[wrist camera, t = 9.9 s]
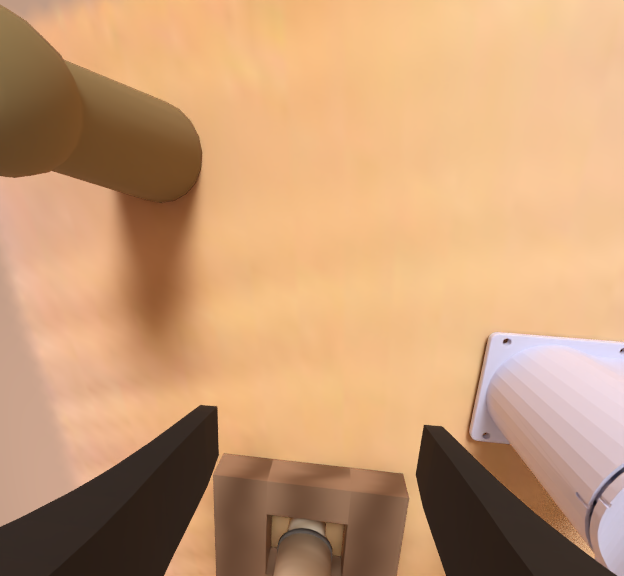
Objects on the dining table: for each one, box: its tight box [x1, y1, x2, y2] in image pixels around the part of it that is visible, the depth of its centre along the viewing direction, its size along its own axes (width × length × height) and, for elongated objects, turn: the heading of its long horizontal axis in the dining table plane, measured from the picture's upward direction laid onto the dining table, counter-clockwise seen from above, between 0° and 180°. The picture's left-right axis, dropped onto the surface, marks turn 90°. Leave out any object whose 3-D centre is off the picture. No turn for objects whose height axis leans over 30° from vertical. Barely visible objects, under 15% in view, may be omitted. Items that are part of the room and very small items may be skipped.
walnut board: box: [213, 454, 409, 576], centre depth 23 cm, size 14×12×2 cm
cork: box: [0, 5, 202, 203], centre depth 13 cm, size 6×6×11 cm
